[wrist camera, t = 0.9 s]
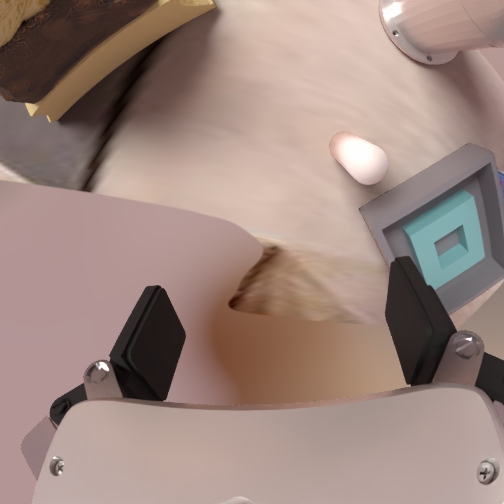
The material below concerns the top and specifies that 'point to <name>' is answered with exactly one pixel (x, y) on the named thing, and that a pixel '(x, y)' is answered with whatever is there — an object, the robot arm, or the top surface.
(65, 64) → the statue on rock pedestal
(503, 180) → the ink cartridge box
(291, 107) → the top surface
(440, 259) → the storage box
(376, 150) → the plug
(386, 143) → the top surface
